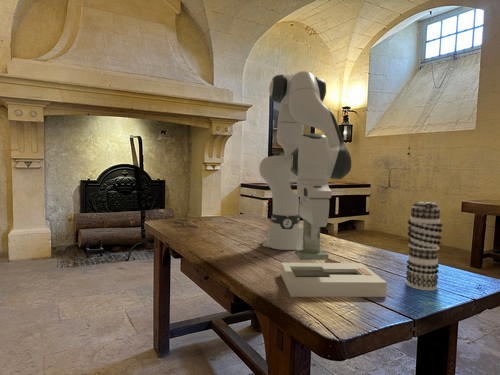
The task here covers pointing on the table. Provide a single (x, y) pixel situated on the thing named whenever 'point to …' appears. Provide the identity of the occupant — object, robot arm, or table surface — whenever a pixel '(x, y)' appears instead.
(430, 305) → the table surface
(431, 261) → the decorative candle
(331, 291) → the keyhole plate
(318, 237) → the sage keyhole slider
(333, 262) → the shard
